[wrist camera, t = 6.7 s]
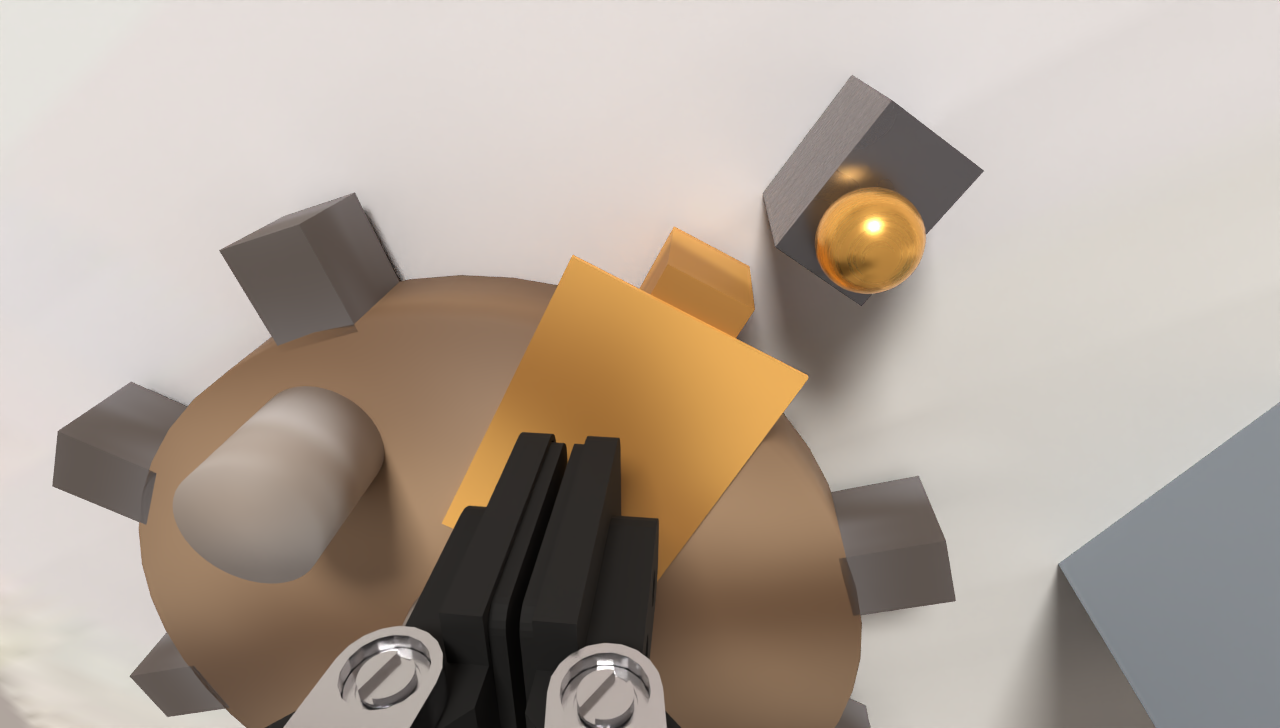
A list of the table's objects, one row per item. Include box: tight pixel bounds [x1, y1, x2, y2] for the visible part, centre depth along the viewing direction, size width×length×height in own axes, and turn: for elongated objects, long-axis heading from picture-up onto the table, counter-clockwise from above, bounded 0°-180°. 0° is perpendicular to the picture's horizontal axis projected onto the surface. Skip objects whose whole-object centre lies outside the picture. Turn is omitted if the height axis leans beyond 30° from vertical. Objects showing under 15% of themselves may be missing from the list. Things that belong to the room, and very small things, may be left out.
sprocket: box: [53, 193, 956, 728], centre depth 16 cm, size 20×20×4 cm
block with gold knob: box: [763, 75, 984, 306], centre depth 10 cm, size 2×2×4 cm
